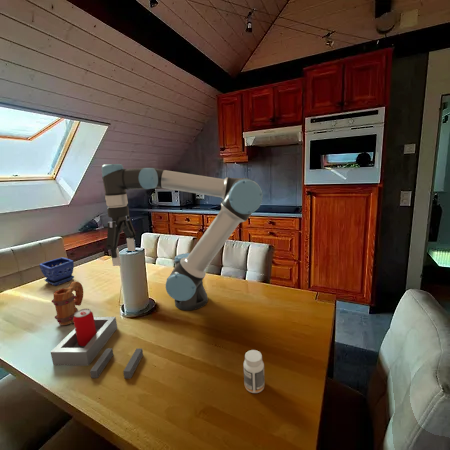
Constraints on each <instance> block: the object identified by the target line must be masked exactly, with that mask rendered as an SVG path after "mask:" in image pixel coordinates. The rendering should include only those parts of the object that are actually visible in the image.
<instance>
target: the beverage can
mask: <svg viewBox="0 0 450 450" xmlns="http://www.w3.org/2000/svg"><path fill="white" fill-rule="evenodd" d="M94 317H95V316H94V313H93V311H91V309H90V308H83V309H80V310H79V309H78V311H77V312H76V313H75V314H74V318H73V321H74V322H73V325H74V329H75V331H76V336H77V341H78V345H79V346H83V347H85V346H86V345H87V344H88V342H89V341H90V340H91V339H92V338H93V337H94V336H95V334H96V328H95V322H94Z"/></svg>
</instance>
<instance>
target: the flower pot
mask: <svg viewBox="0 0 450 450" xmlns="http://www.w3.org/2000/svg"><path fill="white" fill-rule="evenodd" d="M74 266H75V265H74V260H72V259H70V258H67V257H58V258H55V259H50V260H48V261H45V262H42V263H39V268H40V271H41V273H42V275H43V276H44V277H45V279H44V282H46V283H48V284H51V285H52V286H54V287H55V286H59V285H61V284H64V283H67V282H69V281H72V280H73V279H74V278H75V275H73V273H74V268H75V267H74Z"/></svg>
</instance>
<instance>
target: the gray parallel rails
mask: <svg viewBox="0 0 450 450" xmlns="http://www.w3.org/2000/svg"><path fill="white" fill-rule="evenodd" d="M113 356H114V351H113V348H112V347H111V348H110V347H109V348H107V347H106V349H105V350H104V351H103V353H102V354H101V355H100V357H98V359H97V361H96V362H95V363H94V365H93V366H92V368H91V369H90V370H89V373H90V374H89V375H90V379H98V378H99V377H100V375H101V374H102V372H103V371H104V369H105V368H106V366H107V365H108V364H109V362H110V360H111V359H112V357H113ZM143 356H144V351H143V348H141V347H139V348H138V347H137V348H136V349H135V350H134V352H133V354H132V355H131V357H130V359H129V361H128V362H127V364H126V366H125V368H124V369H123V371H122V373H123V378H124V379H132V377H133V375H134V373H135V371H136V369H137V367H138V366H139V364H140V361H141V360H142V358H143Z"/></svg>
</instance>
